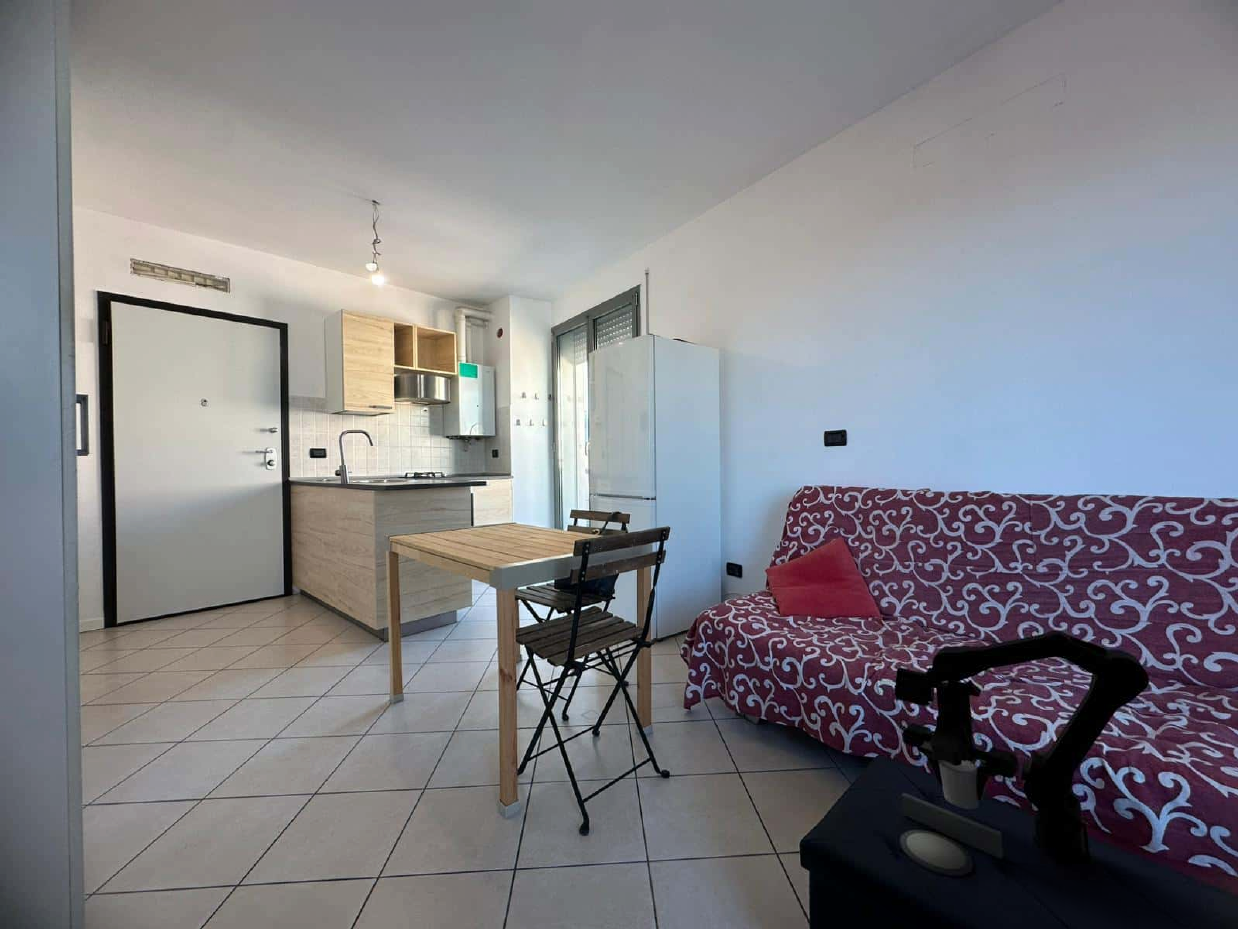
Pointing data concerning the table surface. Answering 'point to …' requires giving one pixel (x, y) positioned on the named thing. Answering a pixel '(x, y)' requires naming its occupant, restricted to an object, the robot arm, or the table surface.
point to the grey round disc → (936, 853)
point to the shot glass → (960, 783)
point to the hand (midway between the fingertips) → (960, 792)
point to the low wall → (953, 825)
